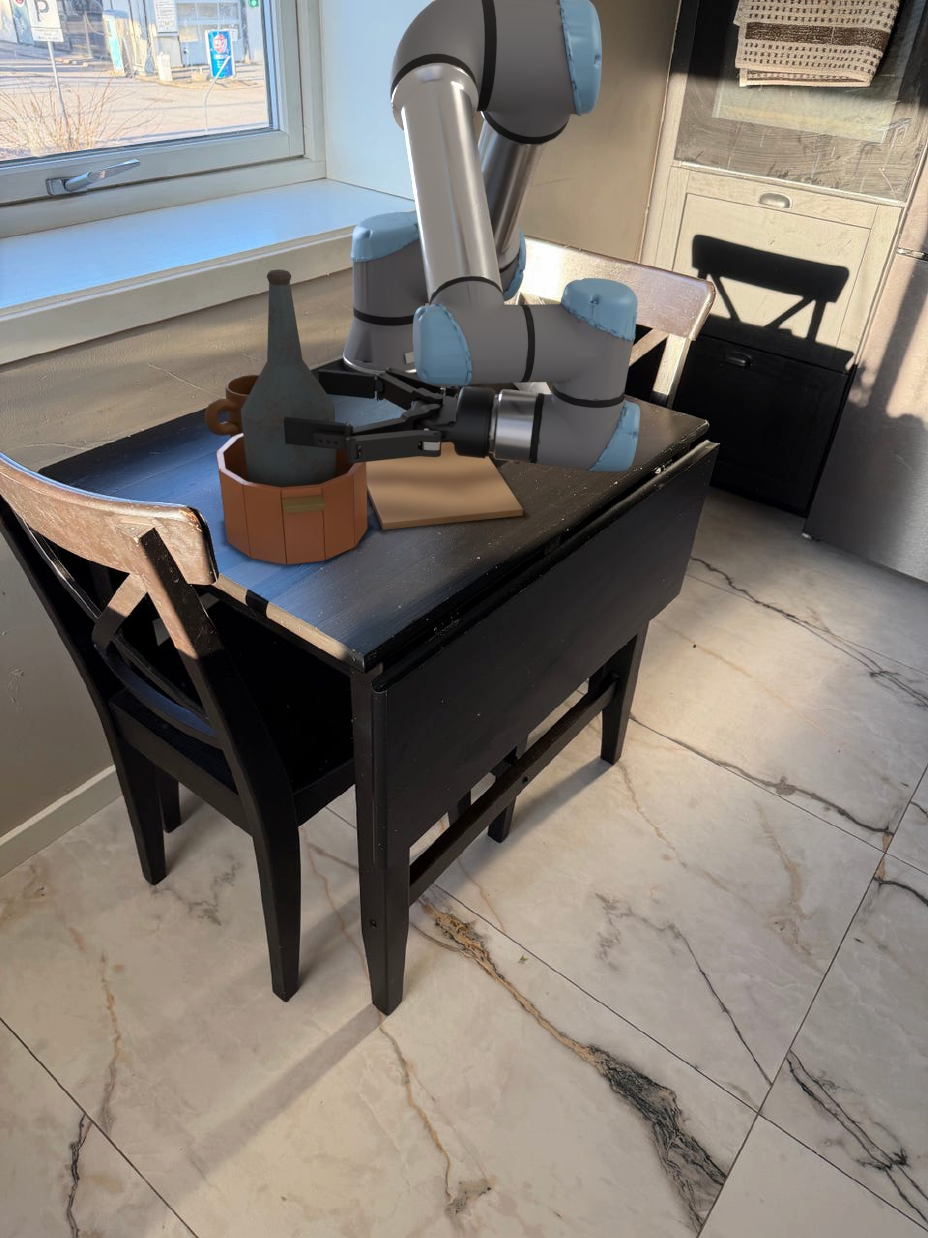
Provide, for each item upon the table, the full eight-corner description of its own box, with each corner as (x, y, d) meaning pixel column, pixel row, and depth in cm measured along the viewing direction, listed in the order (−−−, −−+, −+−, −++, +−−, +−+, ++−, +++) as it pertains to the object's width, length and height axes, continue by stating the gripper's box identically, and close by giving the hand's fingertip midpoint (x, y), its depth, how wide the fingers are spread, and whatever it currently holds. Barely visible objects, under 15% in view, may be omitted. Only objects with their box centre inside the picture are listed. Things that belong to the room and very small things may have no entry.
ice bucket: (220, 491, 116) (211, 422, 110) (349, 480, 120) (347, 412, 114) (233, 580, 100) (223, 505, 94) (381, 564, 104) (380, 491, 99)
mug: (231, 478, 119) (223, 411, 113) (194, 460, 122) (184, 394, 117) (299, 449, 126) (295, 384, 121) (262, 432, 130) (256, 369, 124)
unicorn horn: (547, 448, 130) (550, 417, 128) (506, 383, 149) (509, 355, 146) (578, 446, 131) (582, 415, 128) (534, 383, 150) (537, 354, 147)
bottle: (318, 498, 116) (305, 253, 98) (353, 534, 109) (346, 278, 91) (240, 517, 111) (212, 263, 93) (272, 556, 104) (248, 291, 87)
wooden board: (352, 456, 125) (352, 449, 125) (477, 446, 130) (477, 439, 129) (382, 530, 110) (382, 523, 110) (522, 515, 115) (523, 508, 114)
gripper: (477, 510, 91) (271, 487, 93) (502, 410, 111) (332, 392, 113) (482, 442, 86) (265, 419, 88) (507, 350, 106) (330, 332, 108)
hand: (302, 404), depth 100 cm, fingers open, 13 cm apart
